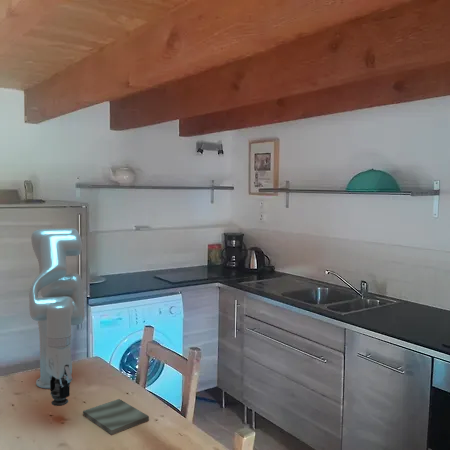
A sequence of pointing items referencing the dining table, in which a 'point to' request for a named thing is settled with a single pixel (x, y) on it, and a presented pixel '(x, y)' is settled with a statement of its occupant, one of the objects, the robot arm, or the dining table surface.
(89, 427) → the dining table surface
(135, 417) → the serving board
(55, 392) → the dark grey chess piece
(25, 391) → the dining table surface
